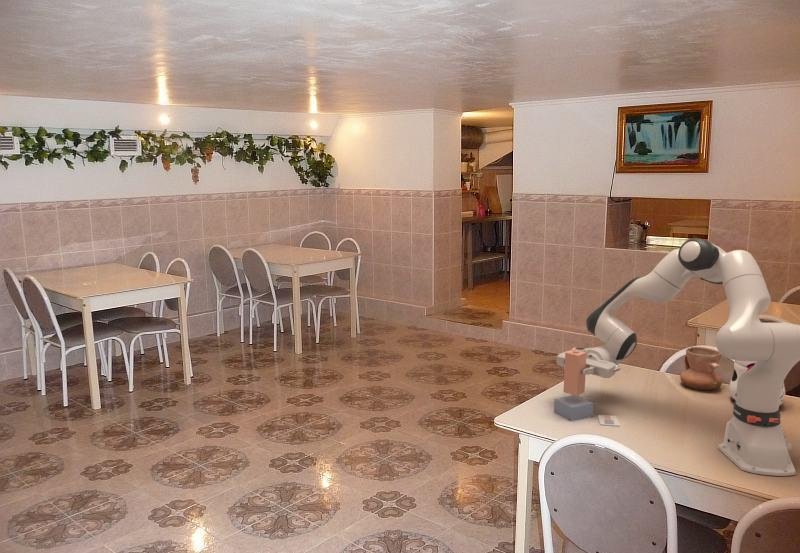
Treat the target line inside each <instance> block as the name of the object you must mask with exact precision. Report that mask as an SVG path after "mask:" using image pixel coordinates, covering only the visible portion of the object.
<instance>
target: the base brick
mask: <svg viewBox="0 0 800 553" xmlns="http://www.w3.org/2000/svg"><path fill="white" fill-rule="evenodd" d="M553 402H554V404H553V406H554V407H553V413H555V414H557V415H559V416H561V417H562V418H564V419H567V420H569V421H571V422H574V421H579V420H584V419H588V418H592V417H594V402H592V401H590V400H587V399H586V398H583V397H581V396H579V395H578V396H574V395H571V394H569V395H565V396H561V397H556V398H554V400H553Z"/></svg>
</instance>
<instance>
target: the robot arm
mask: <svg viewBox="0 0 800 553" xmlns="http://www.w3.org/2000/svg"><path fill="white" fill-rule="evenodd" d="M763 275H764V274H763V273H762V270H761V268H760V266H759V264H758V263H757V261H756V259H755V258H754V256H753V254H751V253H750V252H749V251H747V250H743V249H736V250H735V249H734V250H731V251H729V252H727V251H725V250H724V249H723V248H721V247H720V246H718V245H716V244H714V243H712V242H710V241H708V240H706V239H703V238H698V237H692V238H689V239H687V240H686V241H684V242H683V243H682V244H681V246H680V247H679V248H675V249H672V250H671V251H670V252H668V253H667V254H666V255H665V256H664V257H663V258H662V259H661V260H660V261H659V262H658V263H657V264H656V266H655V267H654V268H653V269H652V270H651V271H650V272H649V273H648V274H646V275H644V276H642V277H640V276H636V277H634V278H632V279H630V280H629V281H627V282H626V284H624V285H623V286H622V287H620V288H619V290H617V291H616V292H615V293H614V294H613V295H612V296H610V298H608V299H607V300H605V302H603V303H602V305H600V306H599V307H597V308H596V309H595V310H593V311H592V312H591V313H590V314H589V315H588V316H587V318H586V329H587V331H588V332H589V333H590V334H592V335H593V336H594V337H596V338H598V339H599V340H600V341H601V342H602V343H601V344H600V345H598V346H595V347H572V348H571V350H573V349H574V350H579V351H583V352H587V355H586V369H585V368H582V369H581V370H580V374H582V375H585V376H586V375H593V376H596V377H600V378H603V379H610V378H611V377H613V376H615V375H616V372H619V371H621V369H622V368H621V367H620V366H619V364H621V363H622V362H623V361H624V360H625V359H626V358H628V357H630V355H631V354H632V352H634V350H635V349H636V346H637V343H638V337H637V333H636V332H635V331H633V330H632V329H631V328H630V327H629V326H628V325H627V324H625V323H624V322H623V321H621V320H620V319H619V318H617V317H616V316H615V314H614V313H615V312H616V310H618V309H619V308H620V307H622V306H623V305H624V304H625V303H626V302H627V301H628V300H629V299H631V298H634V297H635V298H636V297H637V298H641V299H645V300H648V301H650V302H656V303H666V302H669V301H671V300H673V299H674V298H675V297H676V296H677V295H678V294H679V293H680V292H681V290H682V289H683V288H684V286H686V284H687V283H688V282H689V281H690V280H691V279H692V278H696V277H697V278H699V279H700V280H702V281H705V282H707V283H710V284H714V285H723V288H724V292H725V296H726V299H727V304H728V308H729V315H728V319H727V321H726V323H725V324H724V325H722V326H721V327H720V328H719V329H718V331H717V333H716V336H715V346H716V349H717V351H719V352H720V354H721V357H722V358H724V359H729V360H732V361H733V360H734V361H735V360H738V361H757V362H756V364H755V365H754V366H753V367H752V368H751V369H749V370H748V371H746V372H744V373H743V374H741V376H740V377H739V379H738V383H737V394H736V401H735V400H734V402H733V407H732V414H733V416H732V417H731V419H729V420H728V421H727V422H726V424H725V425H726V427H725V431H724V437H723V438H724V439H723V442H721V443H719V444H718V446H717V449H718V450H719V451H720V452H722V453H723V455H725V456H726V457H727V458H728V459H729V460H731V461H732V463H734V464H735V466H737V467H738V468H739V469H741V470H742V471H744V472H748V473H752V474H756V475H757V474H758V475H764V476H778V477H779V476H780V477H789V476H793V475H796V469H795V466H794V464H793V462H792V459H791V456H790V453H789V452H791V451H792V448H793V447H792V443H791V442H786V439H787V433H784V431H783V428H782V425H781V417H782V416H781V408H780V406H779V401H780V394H781V389H782V385H783V382H784V381H785V379H786V378H787V375H788V374H789V372H791V370H792V368H793V367H794V366H795V365H797V364H798V362H800V324H796V323H790V322H762V321H761V320H760V317H759V316H760V315H762V314H763V313H764V312H766V311H767V310H768V309H769V308H770V305H771V301H772V299H771V294H770V293H769V290H768V287H767V283H766V281H765V278H764V276H763ZM568 351H569V350H566V351H563V352H561V353H559V354H558V355H557V356H556V365H557V366H558V367H561V368H562V369H563V370H565V352H568ZM784 383H785V382H784Z"/></svg>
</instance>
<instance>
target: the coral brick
mask: <svg viewBox="0 0 800 553" xmlns="http://www.w3.org/2000/svg"><path fill="white" fill-rule="evenodd" d="M567 351H568V352H566V351H564V352H565V370H564V369H563V370H564V374H563V393H565V394H568V395H574V396H579V395H582V394H585V390H586V375H582V374H580V370H581V369H582V368H585V369H586V355H587V352H583V351H579V350H574V349H573V350H572V349H571V350H567Z"/></svg>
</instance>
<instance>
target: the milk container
mask: <svg viewBox="0 0 800 553" xmlns="http://www.w3.org/2000/svg"><path fill="white" fill-rule="evenodd" d="M755 362H756V361H738V360H734V362H733V373H732V377H731V380H730V381H729V387H728V390H729V395H730V398H731V399H732V400H733V401H734V402H735V401H736V394H737V383H738V379H739V377H740V376H741V374H743V373H744V372H746V371H747V369H748V368H749V367H750V366H753V365H755ZM785 397H786V387H785V382H783V385H782V389H781V394H780V401H779V407H780V406H782V404H784V401H785Z"/></svg>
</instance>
